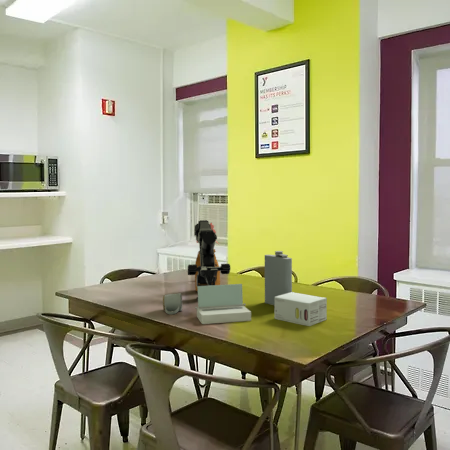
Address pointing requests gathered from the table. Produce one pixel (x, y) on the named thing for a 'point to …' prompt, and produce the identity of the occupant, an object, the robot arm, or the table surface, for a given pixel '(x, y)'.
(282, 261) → the flask
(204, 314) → the panel
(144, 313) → the table surface
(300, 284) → the table surface
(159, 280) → the table surface
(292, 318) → the supplement box
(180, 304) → the ceramic mug
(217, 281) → the coffee package
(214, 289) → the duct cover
